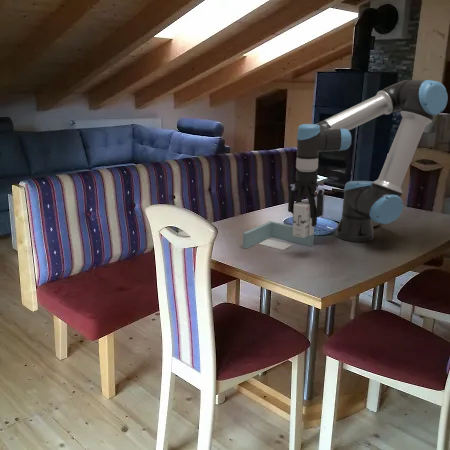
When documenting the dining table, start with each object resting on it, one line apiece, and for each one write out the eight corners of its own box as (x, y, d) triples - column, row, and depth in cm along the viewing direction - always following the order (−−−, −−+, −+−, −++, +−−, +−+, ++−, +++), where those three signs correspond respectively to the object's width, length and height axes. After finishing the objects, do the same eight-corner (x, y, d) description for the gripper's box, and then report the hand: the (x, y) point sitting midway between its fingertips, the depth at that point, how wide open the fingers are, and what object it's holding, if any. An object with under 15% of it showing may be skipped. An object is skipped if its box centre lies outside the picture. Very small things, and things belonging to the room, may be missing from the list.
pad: (292, 245, 195) (292, 244, 195) (283, 250, 190) (283, 249, 190) (268, 239, 201) (268, 239, 201) (258, 244, 196) (258, 243, 196)
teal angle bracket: (313, 245, 196) (314, 230, 194) (288, 259, 180) (289, 243, 179) (269, 235, 207) (270, 221, 205) (242, 247, 191) (243, 232, 189)
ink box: (304, 229, 188) (305, 198, 184) (316, 232, 185) (317, 201, 181) (291, 235, 181) (292, 203, 178) (303, 238, 178) (305, 206, 175)
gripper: (335, 170, 174) (331, 234, 181) (289, 165, 184) (287, 225, 191) (326, 174, 168) (322, 240, 175) (278, 168, 178) (277, 231, 185)
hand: (304, 232), depth 183 cm, fingers closed on ink box, 5 cm apart
